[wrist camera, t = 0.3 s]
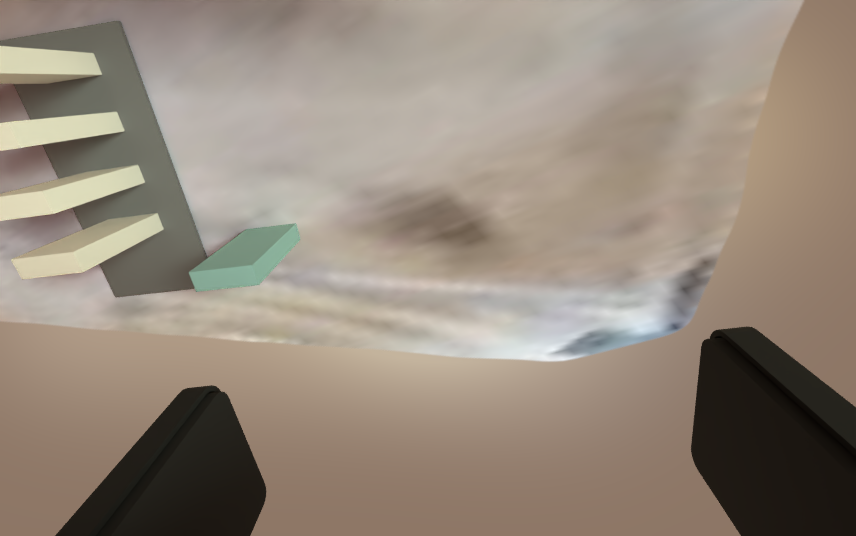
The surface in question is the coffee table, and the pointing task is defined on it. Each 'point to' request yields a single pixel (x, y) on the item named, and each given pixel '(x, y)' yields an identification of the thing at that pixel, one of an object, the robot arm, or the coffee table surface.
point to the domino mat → (118, 158)
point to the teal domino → (245, 258)
